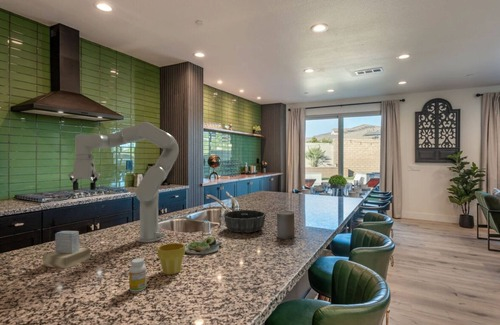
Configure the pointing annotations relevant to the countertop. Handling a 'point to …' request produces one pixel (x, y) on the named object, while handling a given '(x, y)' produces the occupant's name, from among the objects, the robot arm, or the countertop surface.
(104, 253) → the countertop surface
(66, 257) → the birch block
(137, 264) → the supplement bottle
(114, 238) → the countertop surface
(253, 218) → the bundt pan
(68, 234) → the medicine box
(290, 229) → the pillar candle
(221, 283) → the countertop surface
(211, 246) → the salad plate
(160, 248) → the plant pot
